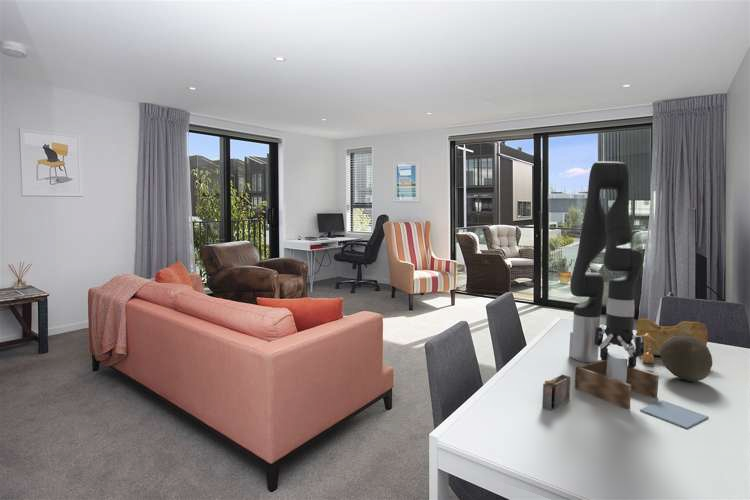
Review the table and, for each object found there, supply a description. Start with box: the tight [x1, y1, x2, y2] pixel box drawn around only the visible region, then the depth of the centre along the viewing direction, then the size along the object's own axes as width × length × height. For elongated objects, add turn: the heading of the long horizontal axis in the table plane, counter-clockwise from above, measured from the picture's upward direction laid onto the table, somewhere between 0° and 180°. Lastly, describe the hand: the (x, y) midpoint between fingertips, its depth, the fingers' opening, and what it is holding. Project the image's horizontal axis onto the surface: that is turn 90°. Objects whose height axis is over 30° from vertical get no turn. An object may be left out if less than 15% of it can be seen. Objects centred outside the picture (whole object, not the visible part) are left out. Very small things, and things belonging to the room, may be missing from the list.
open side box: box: [574, 359, 660, 410], centre depth 140 cm, size 17×16×7 cm
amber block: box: [635, 318, 709, 357], centre depth 176 cm, size 23×17×15 cm
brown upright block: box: [541, 373, 572, 412], centre depth 131 cm, size 11×3×10 cm, turn 131°
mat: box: [639, 399, 710, 430], centre depth 126 cm, size 12×12×1 cm
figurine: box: [640, 333, 660, 364], centre depth 165 cm, size 8×6×12 cm
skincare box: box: [606, 351, 628, 383], centre depth 139 cm, size 6×4×12 cm
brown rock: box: [660, 336, 713, 382], centre depth 150 cm, size 14×14×15 cm
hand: (617, 364), depth 139 cm, fingers open, 8 cm apart
